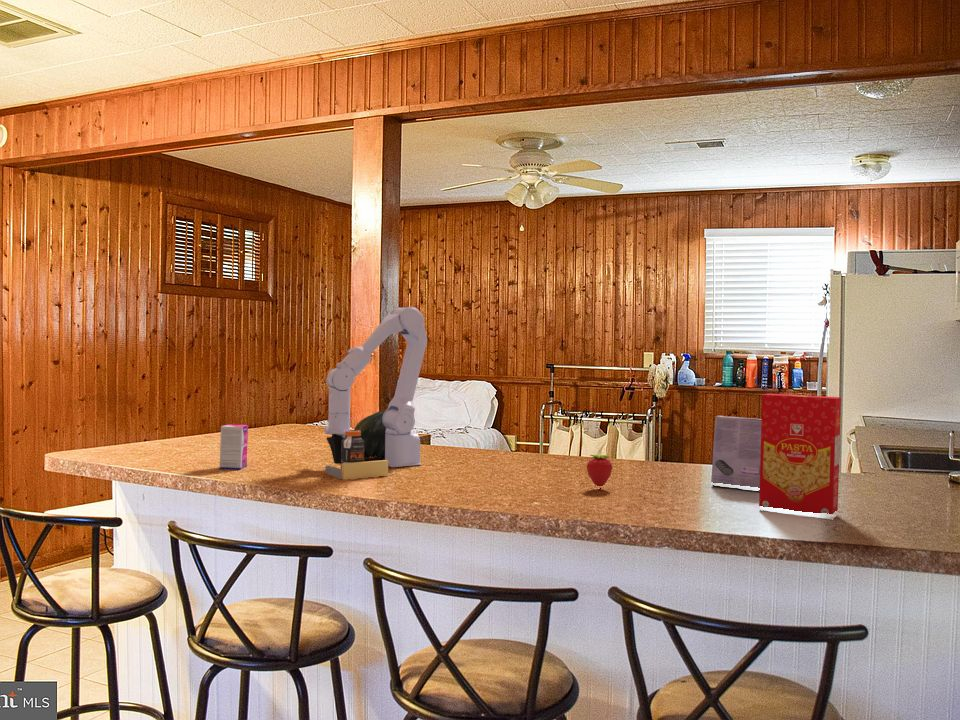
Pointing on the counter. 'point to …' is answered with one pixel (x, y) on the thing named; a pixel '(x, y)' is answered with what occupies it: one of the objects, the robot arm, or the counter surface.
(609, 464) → the strawberry
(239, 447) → the supplement box
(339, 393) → the robot arm
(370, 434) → the squash
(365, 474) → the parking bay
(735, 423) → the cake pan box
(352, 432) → the pill bottle
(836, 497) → the food packaging
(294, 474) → the counter surface
